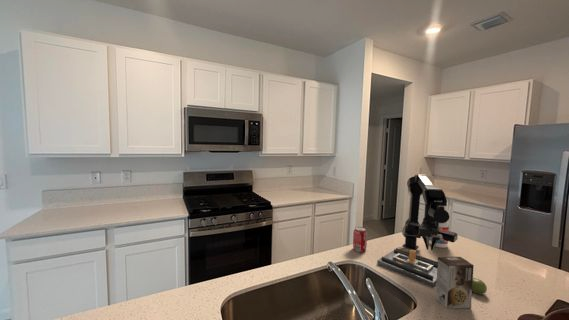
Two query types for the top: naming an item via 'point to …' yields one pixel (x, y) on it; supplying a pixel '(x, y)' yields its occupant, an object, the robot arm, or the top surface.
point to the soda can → (359, 239)
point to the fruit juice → (443, 228)
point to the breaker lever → (412, 257)
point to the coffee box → (454, 282)
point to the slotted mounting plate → (410, 267)
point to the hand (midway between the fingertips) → (429, 250)
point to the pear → (478, 286)
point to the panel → (420, 266)
